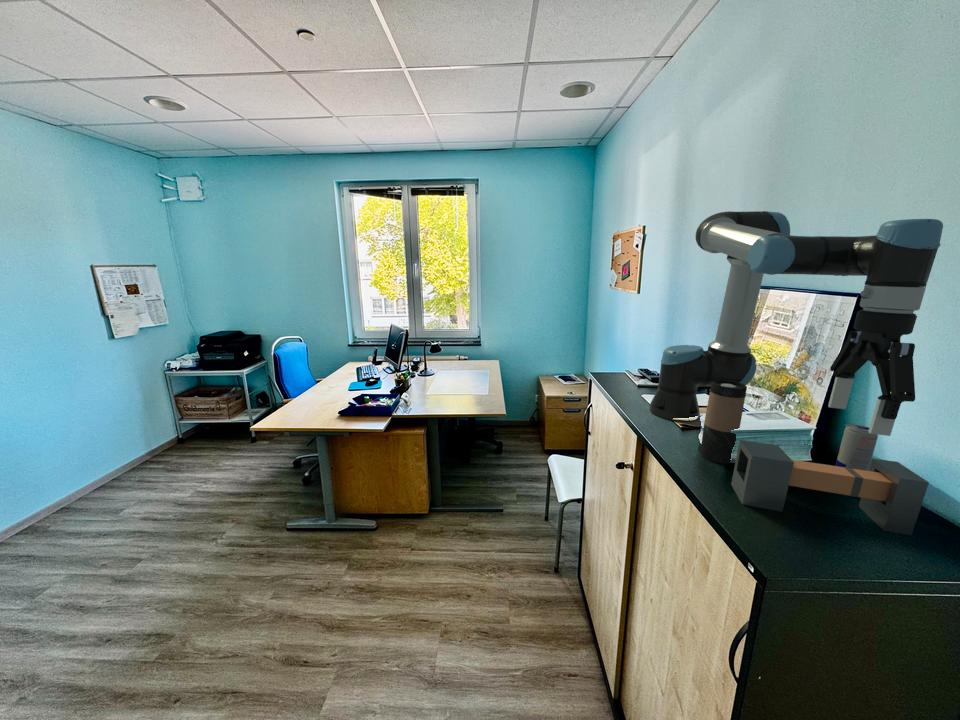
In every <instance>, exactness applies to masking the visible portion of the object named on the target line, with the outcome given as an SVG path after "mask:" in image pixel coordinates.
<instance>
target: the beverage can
mask: <svg viewBox="0 0 960 720" xmlns="http://www.w3.org/2000/svg"><path fill="white" fill-rule="evenodd" d="M869 427H870V426H866V425H861V424H855V423H848V424H845V428H844V431H843V435H842V438H841V443H840V446H839V451H838V455H837V458H836V462H835V465H834V466H838V467H847V468H852V469H858V470H865V471H869V468H870V465H871V461H872V458H873V455H874V451H875V448H876V445H877V441H878V438H879V435H878V434H871V433H869V432H868V431H869Z"/></svg>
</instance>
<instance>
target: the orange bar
mask: <svg viewBox="0 0 960 720" xmlns="http://www.w3.org/2000/svg"><path fill="white" fill-rule="evenodd" d="M791 460H792V461H793V462H794V464H793V469H792V473H791V477H790V482H789V486H790V487H797V488H802V489H808V490H815V491H821V492H825V493H833V494H837V495H838V494H839V495H844V496H849V497H855V498H860V499H861V498H867V499H873V500H879V501H885V502H886V501H887V498H888V495H889V492H890V488H891V485H892V482H893V481H892V480H890V479H889V478H888V477H886V476H885V475H884V474H882V473H879V472H872V471H869V470H868V471H865V470H858V469H852V468H847V467H838V466H835V465H831V464H824V463H819V462H818V463H816V462H810V461H804V460H802V461H801V460H796V459H791ZM789 486H788V487H789Z"/></svg>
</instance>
